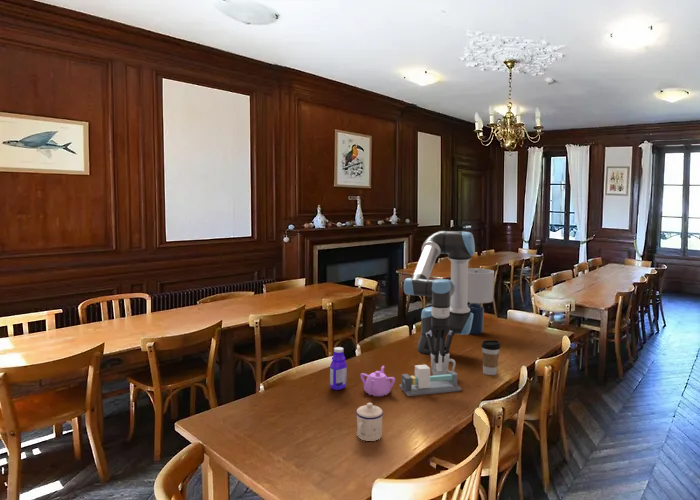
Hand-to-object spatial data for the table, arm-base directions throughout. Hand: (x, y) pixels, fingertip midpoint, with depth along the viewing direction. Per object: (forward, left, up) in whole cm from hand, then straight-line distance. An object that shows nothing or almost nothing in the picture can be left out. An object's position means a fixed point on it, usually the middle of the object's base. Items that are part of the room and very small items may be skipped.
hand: (438, 369), depth 205 cm
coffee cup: (-11, +31, -8) cm, 34 cm away
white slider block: (0, -8, -6) cm, 10 cm away
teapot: (-2, -27, -8) cm, 28 cm away
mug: (-13, +8, -8) cm, 17 cm away
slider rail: (0, -4, -8) cm, 9 cm away
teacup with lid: (+34, -42, -8) cm, 55 cm away
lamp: (-73, +57, -8) cm, 93 cm away
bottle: (-10, -42, -8) cm, 44 cm away
